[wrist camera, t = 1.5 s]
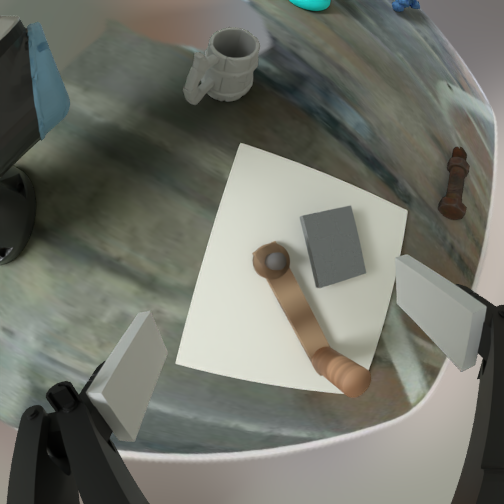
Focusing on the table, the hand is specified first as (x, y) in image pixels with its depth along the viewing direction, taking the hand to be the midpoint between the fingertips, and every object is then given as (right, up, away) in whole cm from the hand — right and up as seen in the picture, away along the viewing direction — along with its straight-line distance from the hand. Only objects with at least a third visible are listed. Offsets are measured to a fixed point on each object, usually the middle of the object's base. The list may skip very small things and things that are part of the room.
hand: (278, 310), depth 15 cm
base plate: (+6, -1, +25) cm, 26 cm away
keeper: (+8, +4, +26) cm, 28 cm away
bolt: (+37, +16, +32) cm, 52 cm away
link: (+4, -5, +23) cm, 24 cm away
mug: (-7, +27, +24) cm, 37 cm away
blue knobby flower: (+36, +64, +33) cm, 80 cm away
